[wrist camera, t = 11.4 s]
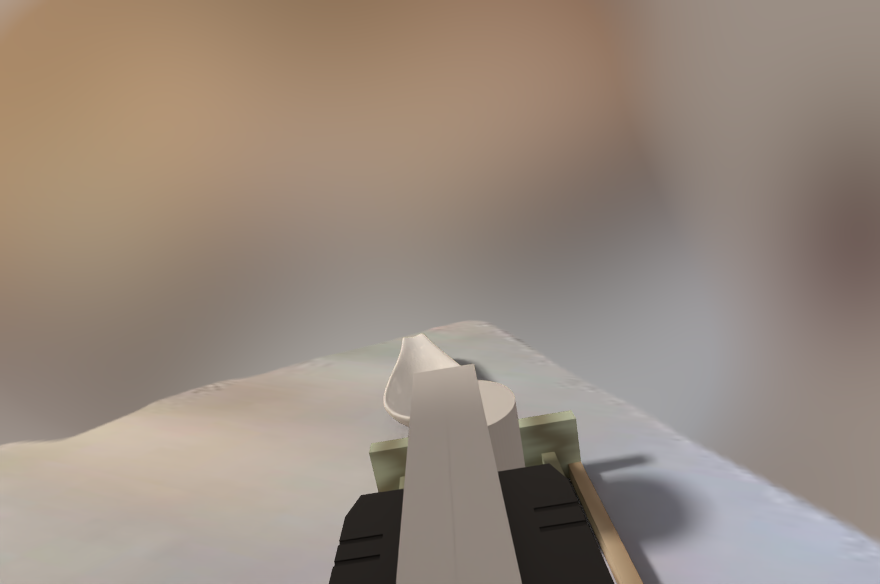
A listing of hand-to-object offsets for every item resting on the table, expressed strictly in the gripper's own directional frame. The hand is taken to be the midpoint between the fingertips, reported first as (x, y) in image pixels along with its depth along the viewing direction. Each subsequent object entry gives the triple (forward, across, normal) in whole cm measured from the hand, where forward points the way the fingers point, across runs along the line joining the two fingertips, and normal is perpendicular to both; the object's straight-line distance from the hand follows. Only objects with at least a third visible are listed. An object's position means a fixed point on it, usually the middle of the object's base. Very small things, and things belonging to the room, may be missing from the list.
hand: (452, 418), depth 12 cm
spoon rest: (+49, -5, -24) cm, 55 cm away
